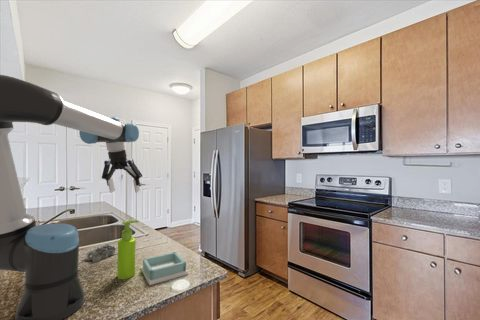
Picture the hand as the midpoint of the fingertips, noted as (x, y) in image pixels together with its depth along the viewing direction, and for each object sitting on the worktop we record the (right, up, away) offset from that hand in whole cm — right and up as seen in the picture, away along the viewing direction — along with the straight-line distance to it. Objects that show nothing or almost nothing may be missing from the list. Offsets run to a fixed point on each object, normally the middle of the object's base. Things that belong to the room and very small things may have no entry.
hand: (125, 191), depth 114 cm
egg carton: (-4, -27, -13) cm, 31 cm away
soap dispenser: (+16, -27, -29) cm, 43 cm away
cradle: (+28, -27, -26) cm, 47 cm away
